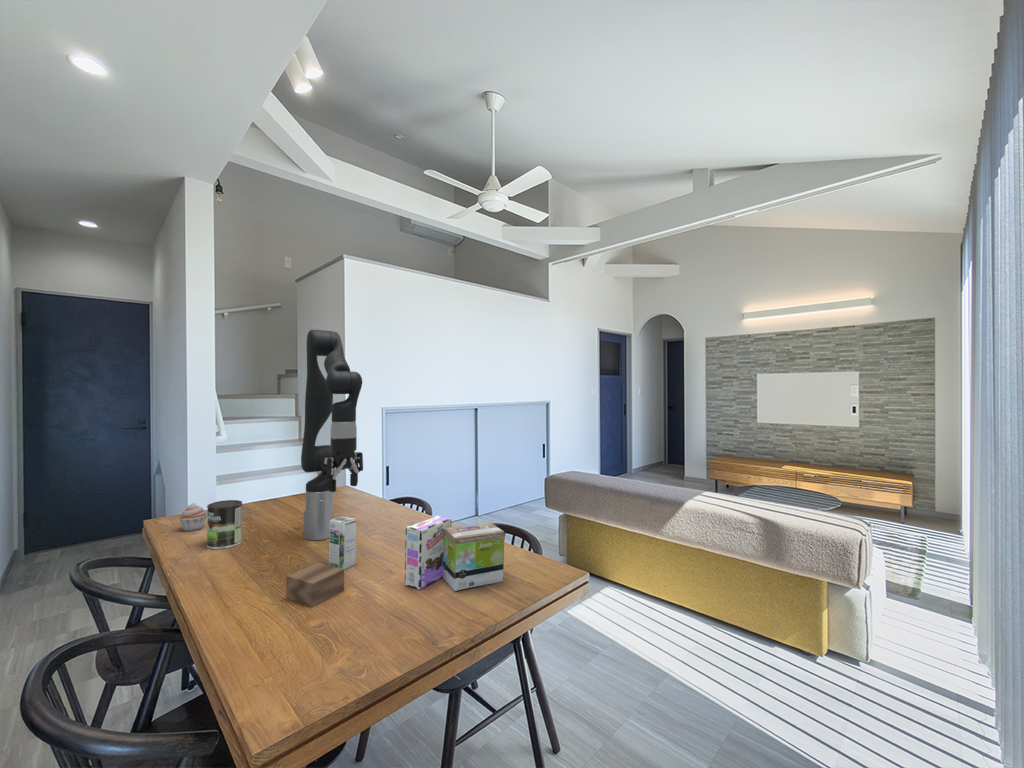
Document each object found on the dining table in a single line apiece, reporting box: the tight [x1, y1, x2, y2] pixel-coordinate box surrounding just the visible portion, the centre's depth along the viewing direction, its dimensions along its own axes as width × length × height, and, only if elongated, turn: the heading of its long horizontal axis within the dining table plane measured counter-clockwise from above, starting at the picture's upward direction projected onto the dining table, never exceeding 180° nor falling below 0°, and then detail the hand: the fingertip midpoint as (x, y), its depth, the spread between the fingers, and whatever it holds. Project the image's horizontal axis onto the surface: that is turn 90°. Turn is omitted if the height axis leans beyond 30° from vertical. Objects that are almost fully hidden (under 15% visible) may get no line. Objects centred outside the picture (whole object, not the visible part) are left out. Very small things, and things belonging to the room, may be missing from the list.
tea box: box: [442, 521, 505, 592], centre depth 129 cm, size 15×10×15 cm
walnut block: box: [285, 562, 345, 608], centre depth 120 cm, size 10×10×6 cm
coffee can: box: [206, 499, 243, 550], centre depth 157 cm, size 10×10×14 cm
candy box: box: [404, 515, 452, 590], centre depth 130 cm, size 14×6×16 cm, turn 149°
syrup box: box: [328, 516, 357, 570], centre depth 139 cm, size 6×6×14 cm
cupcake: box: [178, 502, 208, 532], centre depth 173 cm, size 9×9×10 cm
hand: (343, 488), depth 139 cm, fingers open, 8 cm apart
